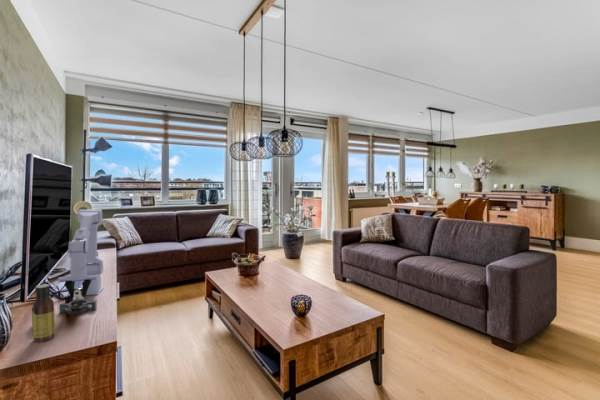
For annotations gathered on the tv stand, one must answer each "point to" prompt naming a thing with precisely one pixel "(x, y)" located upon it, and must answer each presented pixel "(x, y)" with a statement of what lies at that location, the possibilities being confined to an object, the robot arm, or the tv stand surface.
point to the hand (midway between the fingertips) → (78, 296)
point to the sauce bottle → (43, 314)
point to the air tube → (78, 296)
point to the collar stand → (78, 307)
